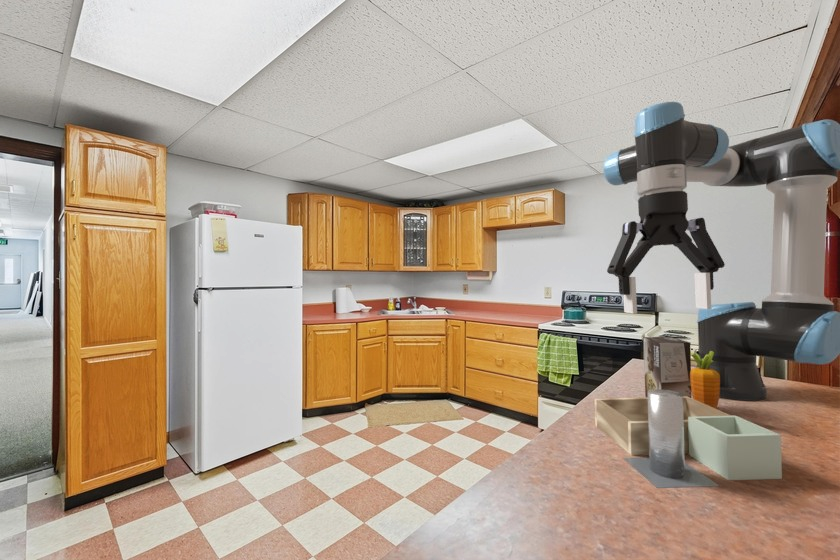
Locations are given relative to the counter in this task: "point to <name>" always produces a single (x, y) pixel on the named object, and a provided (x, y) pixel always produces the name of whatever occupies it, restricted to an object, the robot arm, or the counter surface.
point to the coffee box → (667, 365)
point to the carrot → (705, 381)
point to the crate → (640, 421)
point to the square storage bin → (735, 447)
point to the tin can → (666, 433)
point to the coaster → (689, 480)
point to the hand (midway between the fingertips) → (667, 310)
